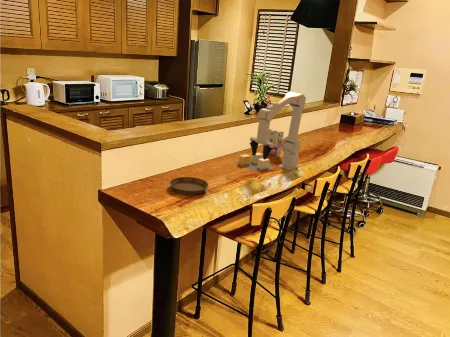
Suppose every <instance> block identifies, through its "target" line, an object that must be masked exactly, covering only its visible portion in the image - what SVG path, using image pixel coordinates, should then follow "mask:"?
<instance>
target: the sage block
mask: <svg viewBox="0 0 450 337" xmlns="http://www.w3.org/2000/svg"><path fill="white" fill-rule="evenodd" d="M263 155H264V153H260V152H256V155H254V156H253V155H252V154H251V158H250V159H251V162H253V163H255V164H256V163H258V159H262V158H263Z"/></svg>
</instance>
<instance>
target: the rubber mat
mask: <svg viewBox="0 0 450 337" xmlns="http://www.w3.org/2000/svg"><path fill="white" fill-rule="evenodd" d="M238 162H239V161H235V162H233V163H234V164H235V165H239V166H241V167H243V168H245V169H248V170H251V171H253V172H256V173H259V172H263V171H267V170H271V169H275V168H276V169H277V166H275V165H272V164H270V163H269V167H268V168H266V169H259V168H257V164H258V163H256V164H255V163H253V162H251V158H250V164H248V165H240V164H238Z"/></svg>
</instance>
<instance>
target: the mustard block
mask: <svg viewBox="0 0 450 337" xmlns="http://www.w3.org/2000/svg"><path fill="white" fill-rule="evenodd" d="M251 158H252V155H249V154H247V153H246V154H240V155H239V156H238V161H237V162H238V164H240V165H239V166H241V165H248V164H250V159H251ZM238 164H237V165H238Z"/></svg>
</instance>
